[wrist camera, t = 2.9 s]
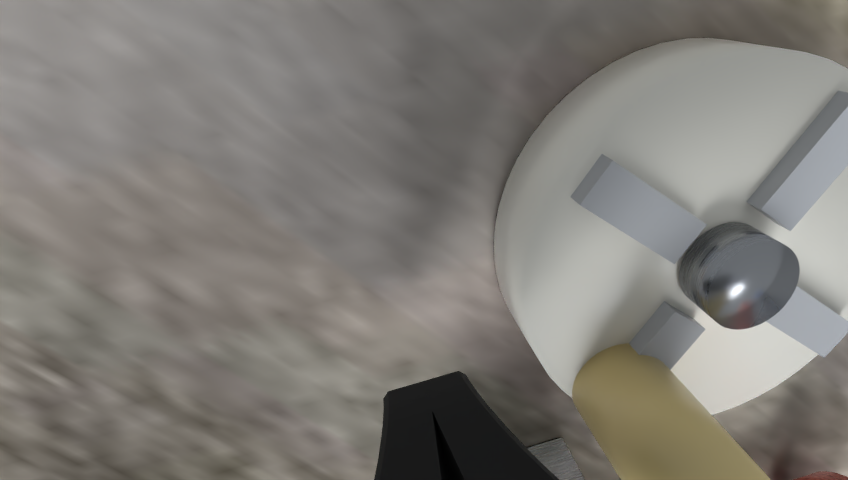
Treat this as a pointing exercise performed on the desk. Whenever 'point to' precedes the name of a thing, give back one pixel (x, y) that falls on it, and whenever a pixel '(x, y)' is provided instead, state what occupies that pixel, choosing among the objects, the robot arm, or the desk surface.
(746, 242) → the wheel spindle
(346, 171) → the desk surface
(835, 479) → the hook rod
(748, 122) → the lock wheel
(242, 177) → the desk surface
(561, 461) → the eye block
